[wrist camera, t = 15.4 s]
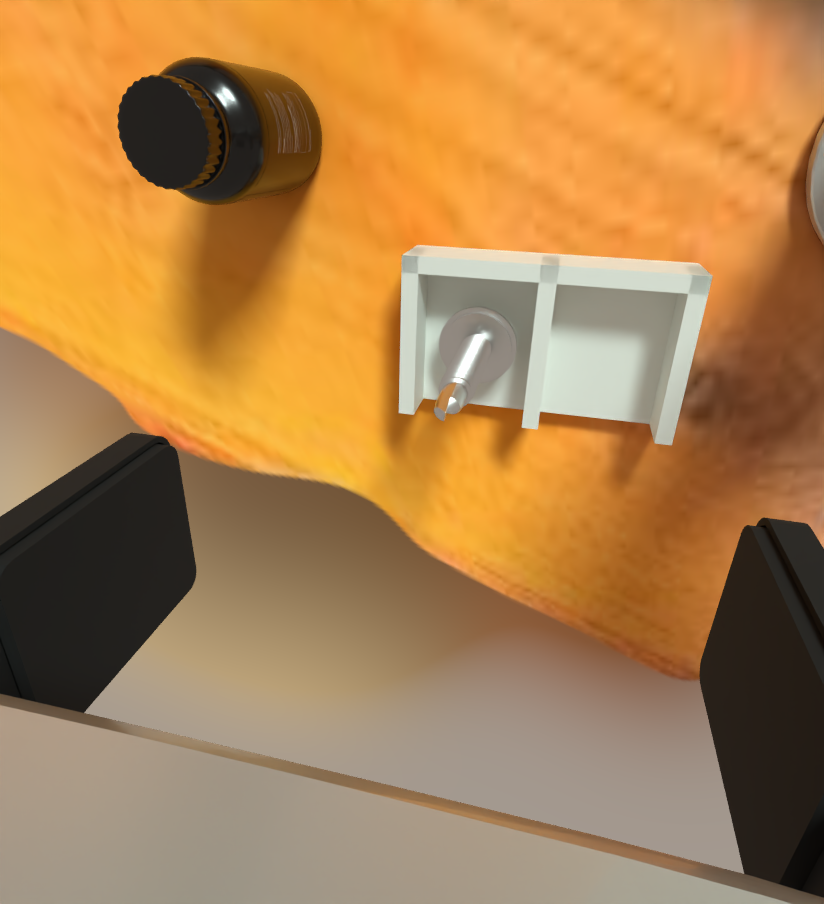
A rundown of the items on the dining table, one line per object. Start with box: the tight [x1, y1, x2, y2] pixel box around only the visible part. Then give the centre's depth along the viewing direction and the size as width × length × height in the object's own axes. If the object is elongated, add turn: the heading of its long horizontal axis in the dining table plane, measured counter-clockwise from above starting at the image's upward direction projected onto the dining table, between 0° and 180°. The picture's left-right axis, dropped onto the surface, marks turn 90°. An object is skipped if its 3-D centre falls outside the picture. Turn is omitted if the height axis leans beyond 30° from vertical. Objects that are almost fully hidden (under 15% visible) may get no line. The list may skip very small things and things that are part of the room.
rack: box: [399, 245, 713, 445], centre depth 39 cm, size 17×10×4 cm, turn 86°
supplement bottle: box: [118, 57, 322, 205], centre depth 34 cm, size 7×7×12 cm
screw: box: [434, 306, 517, 421], centre depth 35 cm, size 13×5×5 cm
